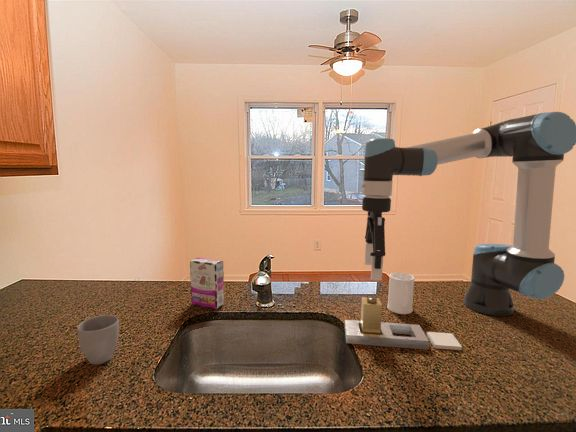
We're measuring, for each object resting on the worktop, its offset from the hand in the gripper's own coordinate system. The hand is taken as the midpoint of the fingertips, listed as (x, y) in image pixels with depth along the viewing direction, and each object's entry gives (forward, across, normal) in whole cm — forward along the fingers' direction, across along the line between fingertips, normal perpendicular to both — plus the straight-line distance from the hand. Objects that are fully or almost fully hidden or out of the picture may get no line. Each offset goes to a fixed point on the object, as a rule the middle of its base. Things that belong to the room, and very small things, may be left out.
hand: (372, 271), depth 87 cm
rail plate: (+20, 0, +4) cm, 20 cm away
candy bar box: (+20, -14, -55) cm, 60 cm away
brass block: (+20, 0, 0) cm, 20 cm away
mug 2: (+20, -19, +13) cm, 31 cm away
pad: (+20, 0, +21) cm, 29 cm away
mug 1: (+20, +19, -70) cm, 75 cm away
